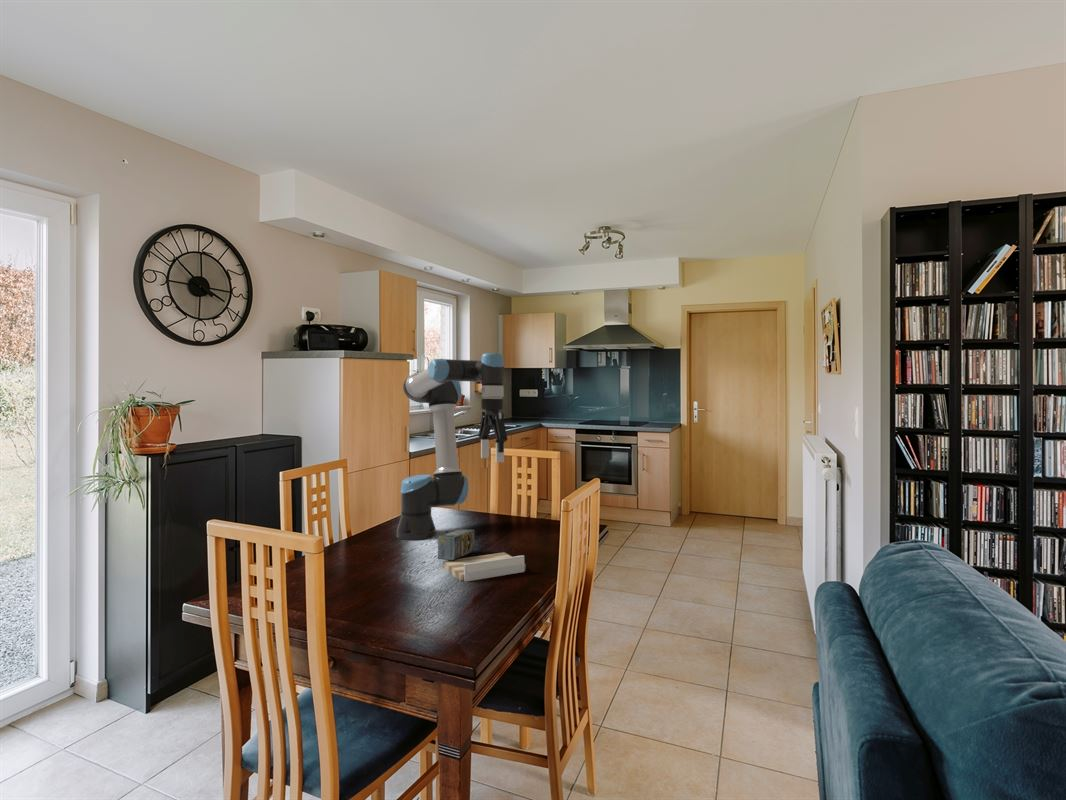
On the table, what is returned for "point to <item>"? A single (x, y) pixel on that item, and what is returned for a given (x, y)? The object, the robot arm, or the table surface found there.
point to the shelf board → (458, 564)
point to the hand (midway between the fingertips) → (492, 460)
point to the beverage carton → (455, 544)
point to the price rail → (493, 568)
